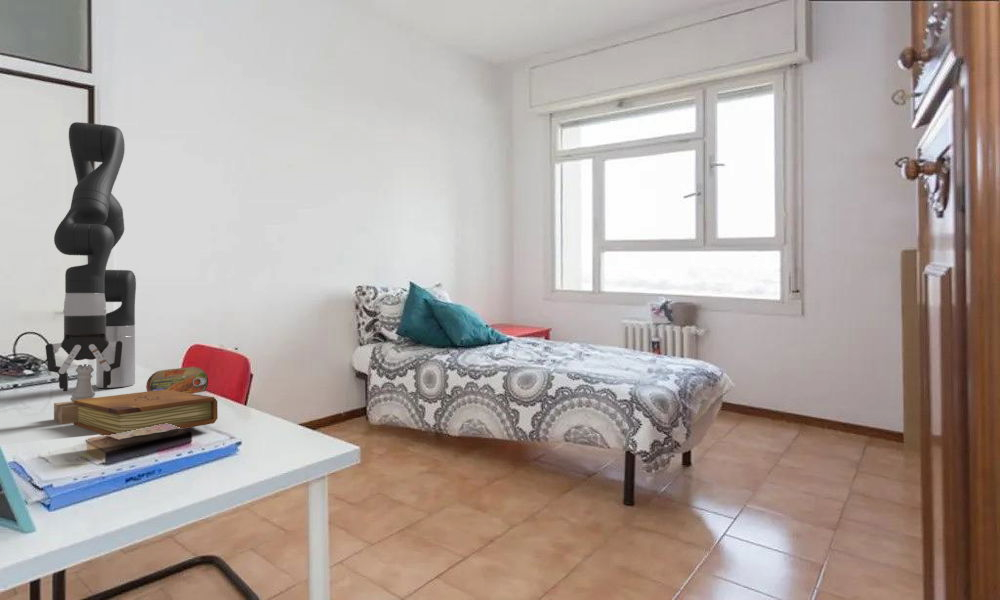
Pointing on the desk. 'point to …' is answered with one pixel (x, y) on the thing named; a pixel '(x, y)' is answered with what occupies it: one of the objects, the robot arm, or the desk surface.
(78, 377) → the rook chess piece
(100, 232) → the robot arm
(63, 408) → the walnut block
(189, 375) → the tin
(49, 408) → the desk surface
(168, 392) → the diary
